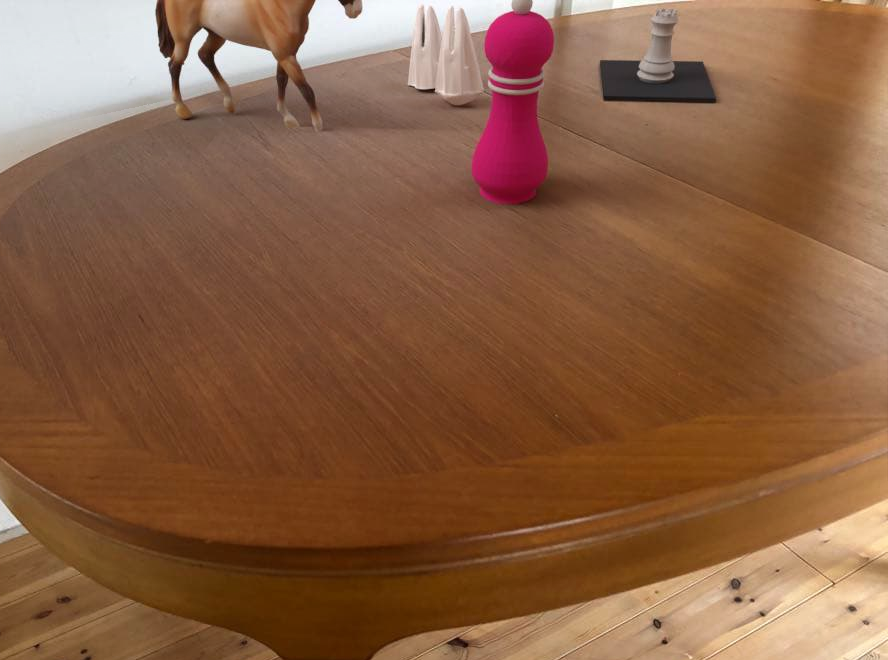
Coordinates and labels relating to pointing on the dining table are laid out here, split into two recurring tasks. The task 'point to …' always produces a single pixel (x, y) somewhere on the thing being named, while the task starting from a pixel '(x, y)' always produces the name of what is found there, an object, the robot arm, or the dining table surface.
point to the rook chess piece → (659, 49)
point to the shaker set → (445, 57)
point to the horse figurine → (241, 41)
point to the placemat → (682, 87)
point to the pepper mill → (514, 107)
